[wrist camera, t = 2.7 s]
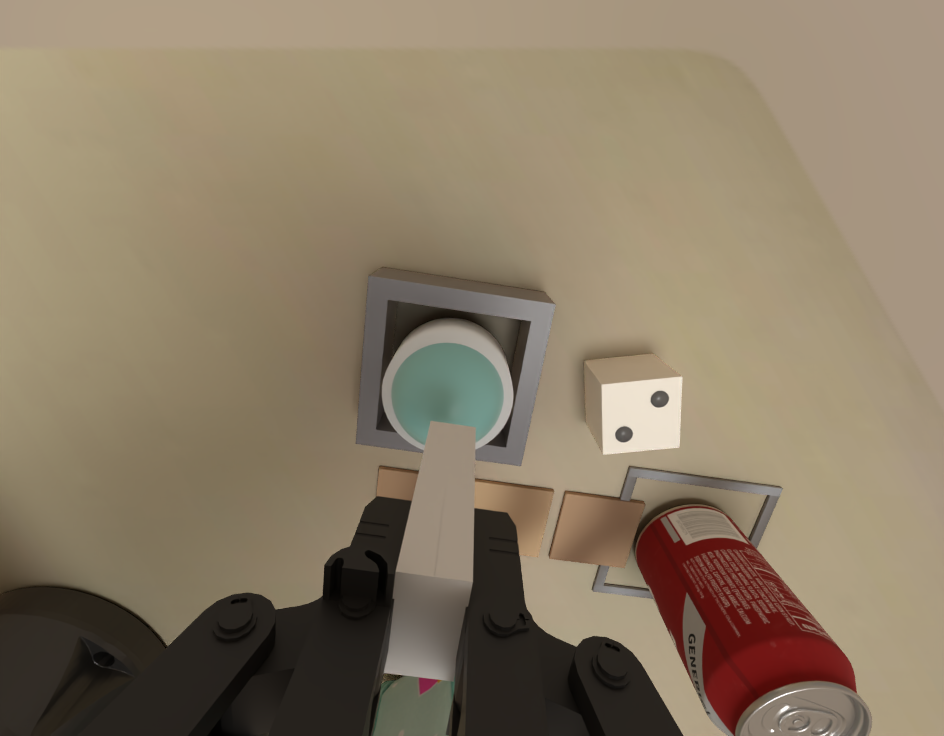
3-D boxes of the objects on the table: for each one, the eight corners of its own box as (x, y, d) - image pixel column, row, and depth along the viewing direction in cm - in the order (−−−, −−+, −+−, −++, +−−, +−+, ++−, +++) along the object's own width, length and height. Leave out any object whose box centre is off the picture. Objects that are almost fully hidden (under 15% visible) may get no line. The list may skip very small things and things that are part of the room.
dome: (387, 418, 24) (366, 470, 19) (398, 309, 22) (377, 336, 17) (498, 433, 25) (503, 489, 20) (518, 327, 23) (530, 359, 18)
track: (370, 561, 31) (369, 564, 31) (383, 432, 28) (382, 434, 28) (729, 605, 32) (731, 609, 32) (780, 486, 29) (783, 489, 29)
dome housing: (369, 415, 28) (355, 443, 24) (382, 267, 25) (368, 275, 21) (515, 436, 28) (521, 466, 25) (544, 291, 25) (555, 304, 22)
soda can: (651, 488, 29) (763, 664, 18) (749, 507, 30) (919, 690, 18) (618, 570, 31) (699, 773, 20) (710, 587, 32) (841, 795, 20)
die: (585, 421, 28) (603, 455, 24) (583, 359, 27) (601, 385, 23) (651, 415, 28) (679, 448, 24) (652, 352, 26) (682, 376, 23)
